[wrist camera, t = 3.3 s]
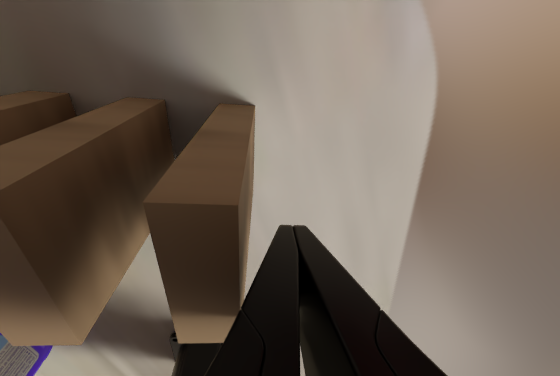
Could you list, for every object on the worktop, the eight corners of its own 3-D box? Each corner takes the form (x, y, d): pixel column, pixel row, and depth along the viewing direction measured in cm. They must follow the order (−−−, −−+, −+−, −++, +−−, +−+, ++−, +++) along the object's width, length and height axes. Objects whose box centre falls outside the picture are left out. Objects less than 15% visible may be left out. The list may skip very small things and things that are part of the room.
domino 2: (253, 188, 15) (240, 342, 7) (223, 187, 15) (178, 343, 7) (255, 105, 12) (238, 205, 5) (219, 103, 12) (142, 202, 5)
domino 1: (178, 186, 15) (81, 344, 7) (147, 184, 14) (13, 345, 7) (164, 99, 12) (-13, 197, 4) (126, 97, 12) (-127, 193, 4)
